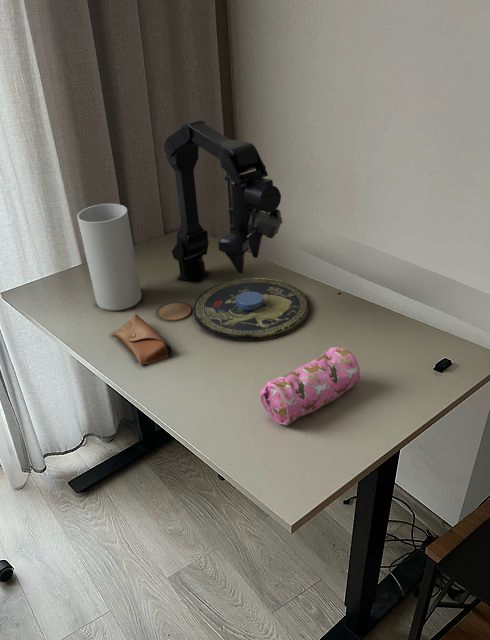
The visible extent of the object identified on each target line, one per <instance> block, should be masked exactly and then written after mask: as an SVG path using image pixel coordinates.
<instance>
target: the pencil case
mask: <svg viewBox="0 0 490 640" xmlns="http://www.w3.org/2000/svg"><path fill="white" fill-rule="evenodd" d="M360 378H361V369H360V365H359V362H358V360H357V358H356V356H355V354H353V352H352V351H350V350H349V349H347V348H342V347H339V346H335V347H334V346H331V347H330V348H327V347H326V348H325V349H324V350H323V352H322V354H321V355H320V356H318V357H317V358H315V359H313V360H311V361H310V362H307V363H304V365H303V364H302V365H301V366H299V367H298V368H296V369H294V370H293V371H291V372H289V373H286V374H284V375H281V376H278V377H276V378H274V379H271V380H269V381H267V382H266V383H265V386H263V388H262V389H261V390H260V391H259V395H260V403H261V405H262V407H263V409H264V411H265V412H266V413H267V414H268V416H269V417H270V418H271V420H273V421H274V422H276V423H277V424H280V425H282V426H289V425H290V424H292V423H294V421H296V420H297V419H299V418H301V417H304V416H307V415H309V414H310V413H314V412H315V411H317V410H318V409H320V408H322V407H323V406H326V405H328V404H329V403H331V402H333V401H335V400H336V399H338V398H339V397H340V396H342V395H343V394H344V393H346V392H347V391H348V390H350V389H351V388H353V387H355V386H357V385H358V383H359V381H360Z"/></svg>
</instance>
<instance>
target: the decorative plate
mask: <svg viewBox="0 0 490 640" xmlns="http://www.w3.org/2000/svg"><path fill="white" fill-rule="evenodd" d="M244 292H258V293H260V294H261V295H262V296H263V305H262V306H261V307H259V308H258V309H256V310H253V311H246V310H243V309H241V308H239V307H238V306H237V305H236V297H237V296H238V295H239V294H241V293H244ZM308 314H309V303H308V299H307V297H306V296H305V294H304V293H303V292H302V291H301V290H300V289H298V287H296V286H293V285H291V284H290V283H287V282H284V281H282V280H278V279H272V278H264V277H246V278H237V279H232V280H228V281H224V282H220V283H217V284H215V285H213V286H211V287H209V288H208V289H206V290H204V291H203V292H202V293H201V294H200V295H198V297H197V299H195V301H194V303H193V306H192V316H193V319H194V321H195V323H196V324H197V325H198V326H199V327H200V329H202V330H203V331H205V332H206V333H208V334H210V335H212V336H215V337H217V338H220V339H225V340H230V341H237V342H251V341H252V342H253V341H263V340H269V339H273V338H277V337H279V336H283V335H285V334H288V333H289V332H292V331H293V330H295V329H297V328H298V327H300V325H302V323H303V322H304V321H305V320H306V318H307V317H308Z"/></svg>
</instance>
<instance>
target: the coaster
mask: <svg viewBox="0 0 490 640" xmlns="http://www.w3.org/2000/svg"><path fill="white" fill-rule="evenodd" d="M191 313H192V308H191V306H190V305H188V304H186V303H182V302H172V303H169V304H166V305H164V306H162V307H161V308H159V310H158V316H159V318H160V319H162V320H164V321H167V322H174V321H175V322H176V321H180V320H181V321H182V320H184V319H186V318H187V317H189V316H190V315H191Z"/></svg>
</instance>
